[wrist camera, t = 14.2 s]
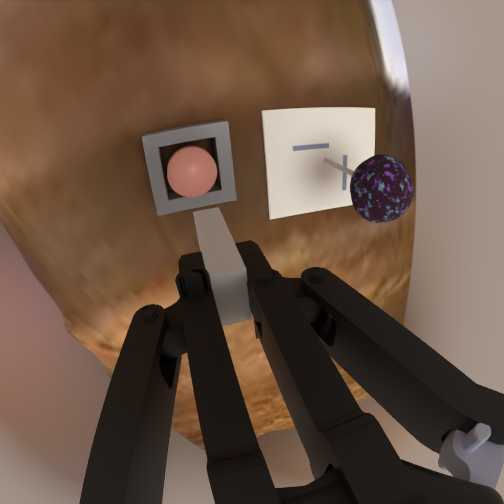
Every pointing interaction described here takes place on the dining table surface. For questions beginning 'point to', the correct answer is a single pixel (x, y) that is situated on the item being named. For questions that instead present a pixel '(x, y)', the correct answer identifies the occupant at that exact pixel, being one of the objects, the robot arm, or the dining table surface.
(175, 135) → the button housing
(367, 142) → the paper pad
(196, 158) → the button
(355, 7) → the dining table surface
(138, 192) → the dining table surface
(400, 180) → the lollipop
